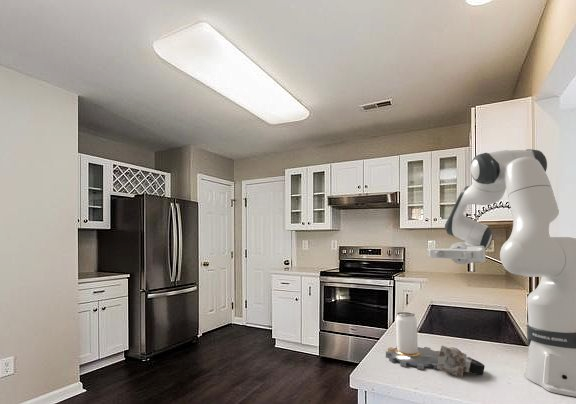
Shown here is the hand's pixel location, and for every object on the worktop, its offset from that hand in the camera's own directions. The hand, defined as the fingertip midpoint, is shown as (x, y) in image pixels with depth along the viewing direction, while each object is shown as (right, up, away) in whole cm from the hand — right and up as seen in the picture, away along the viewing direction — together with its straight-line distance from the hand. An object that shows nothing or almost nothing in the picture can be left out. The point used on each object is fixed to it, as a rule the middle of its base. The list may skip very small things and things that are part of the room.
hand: (449, 254), depth 131 cm
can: (-22, -29, -17) cm, 41 cm away
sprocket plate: (-20, -30, -20) cm, 41 cm away
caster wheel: (-11, -30, -30) cm, 44 cm away
